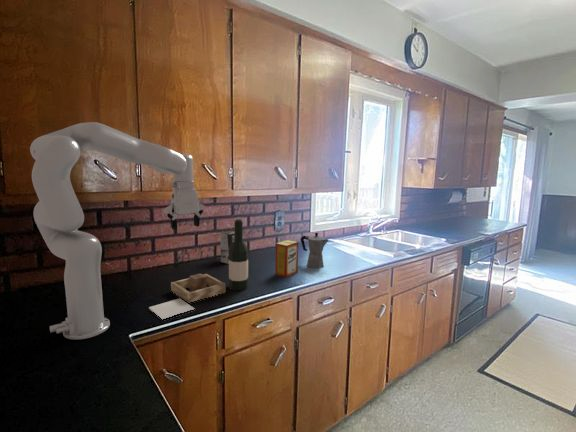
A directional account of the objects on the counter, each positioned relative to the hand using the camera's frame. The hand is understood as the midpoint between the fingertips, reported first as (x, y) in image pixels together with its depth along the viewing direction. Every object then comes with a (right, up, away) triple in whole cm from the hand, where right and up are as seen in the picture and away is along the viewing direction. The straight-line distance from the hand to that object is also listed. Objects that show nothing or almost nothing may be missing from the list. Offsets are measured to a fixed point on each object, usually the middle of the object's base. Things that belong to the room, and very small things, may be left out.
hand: (185, 227), depth 131 cm
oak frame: (+5, -27, +2) cm, 27 cm away
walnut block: (+5, -27, +2) cm, 27 cm away
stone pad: (-1, -30, -14) cm, 33 cm away
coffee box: (+10, -20, +45) cm, 50 cm away
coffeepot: (+55, -22, +41) cm, 73 cm away
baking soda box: (+41, -24, +28) cm, 55 cm away
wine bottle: (+20, -26, +9) cm, 35 cm away
